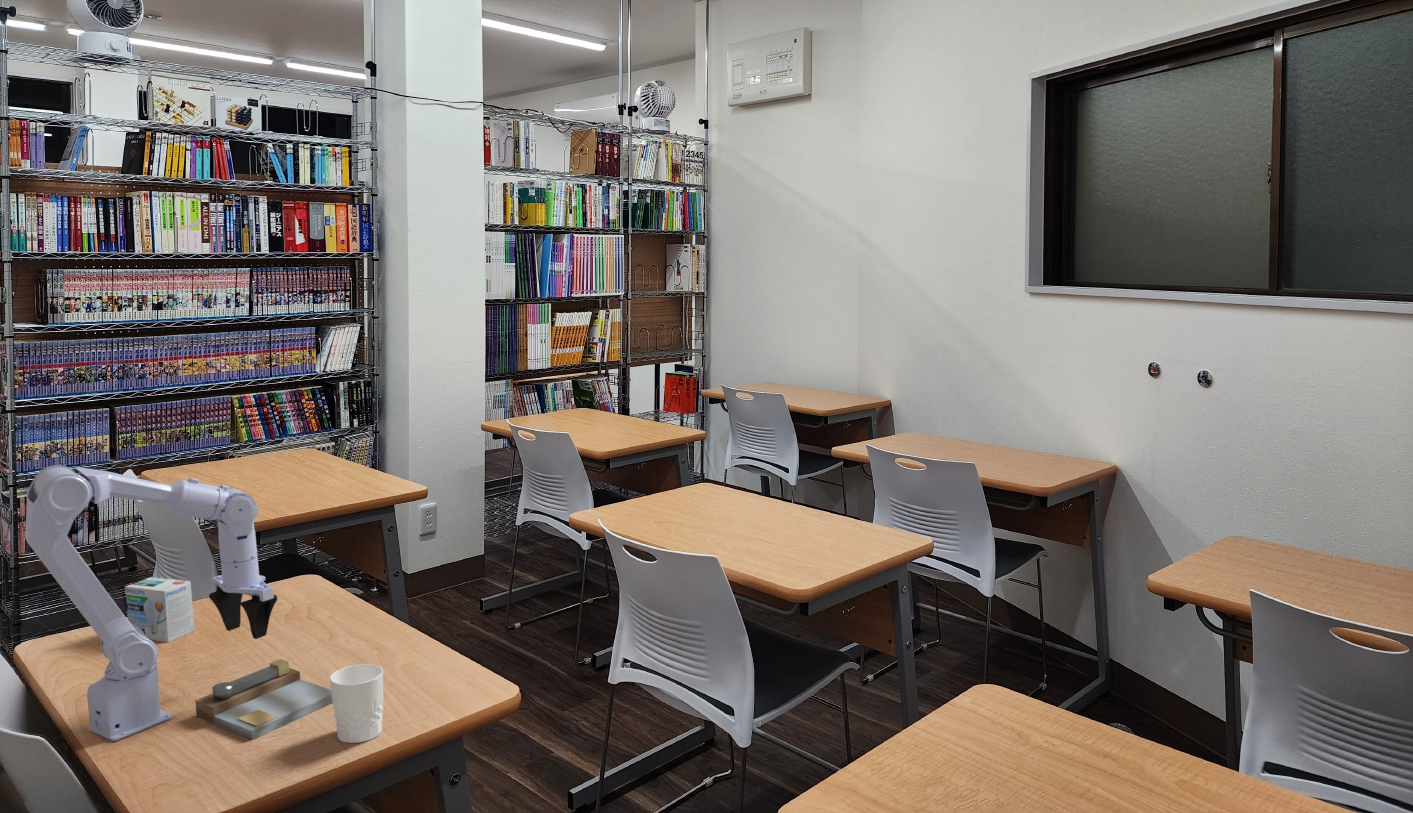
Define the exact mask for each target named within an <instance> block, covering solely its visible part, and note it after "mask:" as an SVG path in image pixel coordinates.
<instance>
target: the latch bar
mask: <svg viewBox="0 0 1413 813" xmlns="http://www.w3.org/2000/svg"><path fill="white" fill-rule="evenodd" d="M289 662H290V661H287V660H284V659H281V658H278V659H277V660H274V661H270V662H269V666H266V667H265V668H264V667H263V668H262V669H259V670H257V671H254V672H252V673H249V674H247V675H244V676H242V677H239V678H237V679H234V680H232V681H229V682H228V681H225V682H220V683H216V684H214V685H213V686H212V689H211V690H212V691H211V692H212V693H213V699H214V700H225V699H228V698H230V697H232V696H233V694H236V693H238V692H240V691H243V690H245V689H248V688H250V687H253V686H255V685H257V684H260V683H262V682H265V681H267V680H270V679H272V678H274V677H277V676H279V677H280V676H282V675H284V674H287V673H289V668H290V664H289Z"/></svg>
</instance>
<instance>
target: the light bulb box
mask: <svg viewBox="0 0 1413 813" xmlns="http://www.w3.org/2000/svg"><path fill="white" fill-rule="evenodd" d="M124 591H125V592H124V593H125V603H126V616H127V617H126V618H127V620H128V621H129V622H130V623H131V624H134V625H136V626H138V627H139V628H141V629H142V631H143V632H144V634H145V636H146V637H147V638H148V639H149V640H151V641H157V642H164V643H171V642H172V641H175V640H177V639H180V638H181V637H184V636H187V635H188V634H191V633H193V632H195V624H194V623H195V621H194V609H193V606H194V605H193V598H192V597H193V595H192V583H191V581H190V580H183V579H182V580H181V579H173V578H172V579H171V578H162V577H154V576H151V577H147V578H145V579H142V580H139V581H137V582H134V583H131V584H129V585H126V586H124Z"/></svg>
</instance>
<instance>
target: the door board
mask: <svg viewBox="0 0 1413 813" xmlns="http://www.w3.org/2000/svg"><path fill="white" fill-rule="evenodd" d="M194 702H195V713H196V718H197V719H199V720H201V721H204V722H207V723H209V724H212V725H215V726H217V727H220V728H222V729H225V730H228V731H229V732H232V733H233V734H234V733H235V734H237V735H240V736H242V737H245V738H247V739H249V740H252V741H253V740H255V739H257V738H259V737H261V736H264V735H265V734H268V733H270V732H273V731H275V730H277V729H279V728H281V727H284V726H285V725H288V724H289V723H292V722H294V721H297V720H298V719H301V718H303V717H305V716H307V715H309V714H311V713H314V712H316V711H318V710H319V709H322V708H325V707H327V706H329V705H331V704H333V701H332V692H331V688H327V687H324V686H322V685H317V684H315V683H312V682H310V681H306V680H303V679H301V671H299V670H296V669H293V668H290V667H289V673H287V674H284V675H282V676H280V677H279V676H277V677H274V678H272V679H270V680H267V681H265V682H262V683H260V684H257V685H255V686H253V687H250V688H248V689H245V690H243V691H240V692H238V693H236V694H233V696H232V697H230V698H228V699H225V700H214V699H213V692H212V693H209V694H207V695H205V696H203V697H201V698H198V699H196V700H195V701H194Z"/></svg>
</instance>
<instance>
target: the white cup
mask: <svg viewBox="0 0 1413 813" xmlns="http://www.w3.org/2000/svg"><path fill="white" fill-rule="evenodd" d="M329 681H330V690H331V692H332V701H333V703H332V708H333V715H334V721H335V723H336V733H337V739H338V740H340V741H341V742H343V743H345V744H346V743H347V744H357V743H358V744H360V743H363V742H364V743H365V742H367V741H371V740H373V739H374V738H377V737H379V735H381V733H382V732H383V715H384V669H383V668H382V666H379V665H377V664H372V663H359V664H354V665H353V664H351V665H348V666H344V667H342V668H340V669H337V670H336V671H334V672H332V674H331V675H330V677H329Z"/></svg>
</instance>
